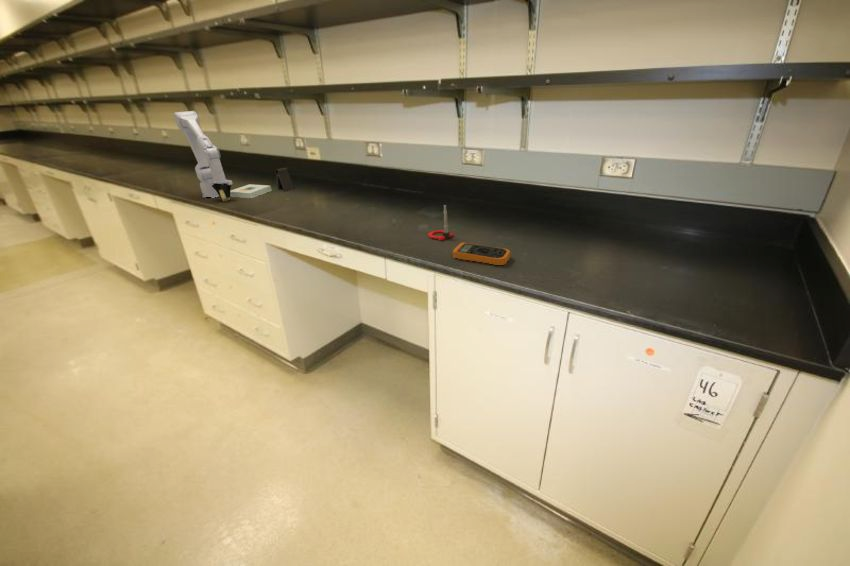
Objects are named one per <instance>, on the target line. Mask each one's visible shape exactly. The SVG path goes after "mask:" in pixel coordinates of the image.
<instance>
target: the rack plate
mask: <svg viewBox="0 0 850 566" xmlns="http://www.w3.org/2000/svg"><path fill="white" fill-rule="evenodd" d="M272 190H273V189H272V186H271V185H265V184H254V183H253V184H250V183H249V184H246V185H243V186H240V187H237V188H234V189H230V198H238V197H239V198H241V199H250V198H251V199H253V198H257V197H259V195H260V196H262V195H265V194H267V192H268V193H270V192H272ZM251 199H250V200H251Z"/></svg>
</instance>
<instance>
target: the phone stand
mask: <svg viewBox="0 0 850 566" xmlns="http://www.w3.org/2000/svg"><path fill="white" fill-rule="evenodd" d="M275 175H276V189H277V190H278V189H279V191H282V190H283V192H288V190H289V191H291V189H293V190H295V186H294V184H293V181H292V178H291V176H290V173H289V169H288V168H287V167H282V168H281V167H280V168H276V169H275Z"/></svg>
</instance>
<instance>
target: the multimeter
mask: <svg viewBox="0 0 850 566" xmlns="http://www.w3.org/2000/svg"><path fill="white" fill-rule="evenodd" d="M452 257H453V258H454V259H455V258H458V259H457V260H459V259H464V260H463V261H466V260H470V261H469V262H472V261H477V262H476V263H478V262H483V263H482V264H484V263H489V264H494V265H504V264H505V265H506V264H507V263H508V262H509V260H510V258H511V251H510V250H509V249H507V248H503V247H495V246H490V245H489V246H488V245H480V244H475V243H468V242H461V243H459V244H458V245H457V246H455V248H454V249H453V250H452ZM507 261H508V262H507ZM489 264H488V265H489ZM494 265H493V266H494ZM505 265H504V266H505Z"/></svg>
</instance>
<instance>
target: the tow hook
mask: <svg viewBox="0 0 850 566" xmlns="http://www.w3.org/2000/svg"><path fill="white" fill-rule="evenodd" d="M443 223H444V224H443V229H438V230H436V229H435V230H433V231H430V232H428V234H427V237H428V236H429V237H430V239H432V238H433V240H438V241H439V240H440V242H441V240H442V241H445V240H444V239H446V240H449V239H450V238H453V237H455V234H454V233H453V232H450V231H449V225H448V211H447V205H446V204H445V205H444V204H443ZM435 233H436V234H442V235H435ZM429 237H428V238H429Z"/></svg>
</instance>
